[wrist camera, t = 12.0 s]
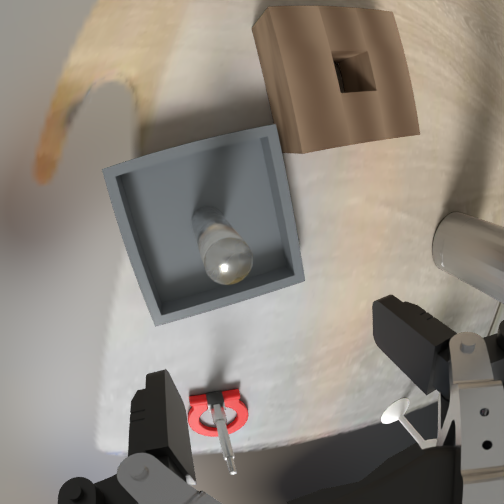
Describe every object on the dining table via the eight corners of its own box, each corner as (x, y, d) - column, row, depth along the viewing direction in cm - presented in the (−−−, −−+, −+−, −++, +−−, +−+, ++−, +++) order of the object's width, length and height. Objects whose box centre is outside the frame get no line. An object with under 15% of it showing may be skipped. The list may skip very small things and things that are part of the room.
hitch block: (363, 25, 30) (392, 11, 24) (387, 134, 35) (420, 134, 29) (251, 28, 27) (268, 6, 22) (280, 152, 32) (302, 153, 27)
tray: (265, 126, 31) (275, 124, 28) (293, 269, 37) (305, 280, 33) (109, 167, 29) (101, 169, 25) (156, 310, 34) (155, 326, 31)
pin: (219, 202, 32) (247, 231, 20) (226, 232, 33) (257, 276, 22) (187, 211, 31) (198, 245, 20) (196, 241, 32) (211, 290, 21)
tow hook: (247, 425, 44) (244, 384, 40) (271, 494, 32) (272, 461, 29) (192, 434, 42) (181, 394, 39) (206, 507, 30) (192, 475, 27)
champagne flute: (376, 427, 52) (442, 514, 30) (388, 402, 50) (464, 491, 28) (401, 419, 54) (467, 497, 32) (414, 394, 52) (489, 474, 30)
